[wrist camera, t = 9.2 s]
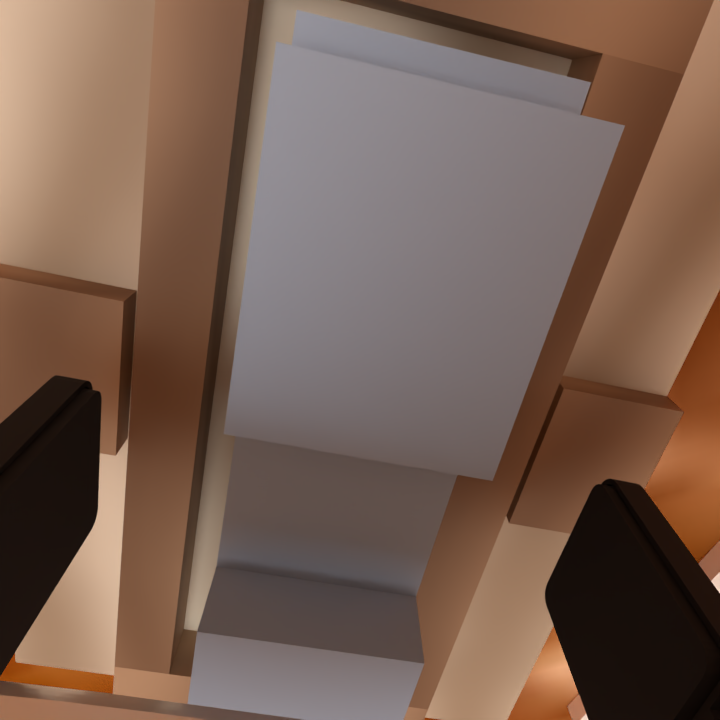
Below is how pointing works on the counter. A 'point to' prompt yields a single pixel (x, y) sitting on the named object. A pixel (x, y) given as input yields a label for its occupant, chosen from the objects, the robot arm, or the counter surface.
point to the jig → (225, 287)
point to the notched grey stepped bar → (380, 348)
